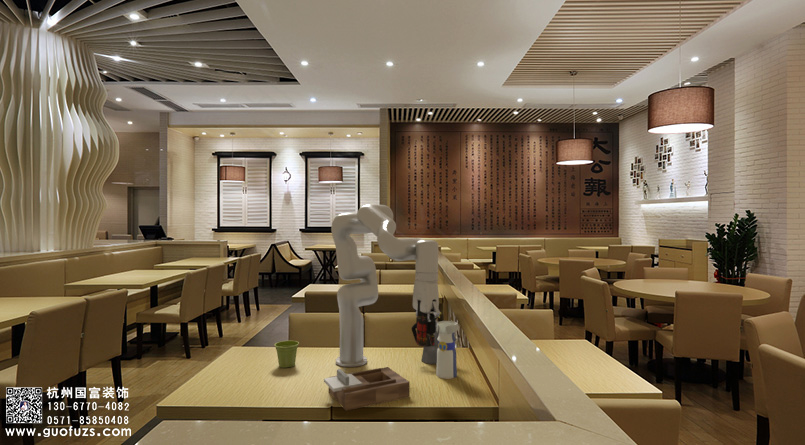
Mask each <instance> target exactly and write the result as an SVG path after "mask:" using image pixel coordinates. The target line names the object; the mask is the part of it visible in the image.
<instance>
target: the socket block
mask: <svg viewBox="0 0 805 445" xmlns="http://www.w3.org/2000/svg"><path fill="white" fill-rule="evenodd" d="M348 374H352V375H353V376H355V377H356V378H357V379H358V380H359V381H360V382H362V385H358V386H352V387H347V388H342V390H341V391H336V392H333V391H332V390H331V389H330V388H329V387H328V393H329V394H330V396H331V397H332V398H333V399H334V400H335V401H336V402H337V403H338V404H339V405H340V404H341V405H342V406H343V407H342V406H341V405H340V406H341V407H342V409H344V411H345V412H346V411H351V410H352V411H353V410H356V409H360V408H365V406H366V407H370V406H375V405H380V404H384V403H389V402H393V401H397V400H401V399H407V398H410V380H407V379H406V378H405V377H403V376H402V375H400V374H399V373H397V372H396V371H395V370H393V369H392V368H390V367H389V366H386V367H380V368H374V369H367V370H360V371H357V372H350V373H348ZM336 376H337V375H334V376H329V377H328V378H330V377H336ZM369 405H370V406H369Z"/></svg>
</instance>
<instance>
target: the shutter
mask: <svg viewBox="0 0 805 445" xmlns="http://www.w3.org/2000/svg"><path fill="white" fill-rule="evenodd" d="M335 376H336V377H332V376H329V377H330V378H329V377H325V378H324V377H323V383H324V384H326V386H327V387H328V389H329V388H330V389H331V390H332V391H333V392H336V391H341V390H342V388H347V387H352V386H358V385H362V382H360V381H359V380H358V379H357V378H356V377H355V376H353V375H352V374H349V373H345V372H344V371H343V370H342V369H341V368H338V369H336V375H335Z"/></svg>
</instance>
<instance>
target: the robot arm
mask: <svg viewBox="0 0 805 445" xmlns="http://www.w3.org/2000/svg"><path fill="white" fill-rule="evenodd" d="M330 227H331V236H332V239H333V242H334V247H335V252H336V254H335V255H336V263H337V272H338V275H339V278H340V279H341V280H343V281H353V280H355V281H356V280H360V282H353V283H346V284H344V285H342V286H340V287H339V288H338V290H337V292H336V299H337V305H338V310H339V312H338V313H339V314H338V315H339V356H338V357H337V358H336V359H335V364H336V365H338V366H340V367H344V368H345V367H347V368H355V367H361V366H364V365H366V364H367V362H368V358H367V357H366V356H365V355H364V315H363V313H362V312H361V310H360V308H359V307H364V306H370V305H374V304H375V303H376V302H377V300H378V298H379V284H378V276H377V275H378V274H377V268H376V264H375V262H374V259H372V257H370V256H368V255H359V254H358V246H357V244H356V241H355V240H354V238H353V237H352V236H351V235H363V234H364V235H367V234H373V235H374V236H376V242H377V245H378V247H379V249H380V251H381V252H383V254H385V255H386V256H387V257H388V258H390V259H391V260H393V261H397V262H404V261H415V268H414V269H415V274H414V275H415V277H414V279H415V280H414V282H413V283H414V284H413V291H412V308H413V309H414V311H415V316H416V319H415V320H416V329H417V310H418V303H417V302H418V300H420V301H421V302H420V303H421V304H420V311H421V312H423V313H427V319H428V321H427V329H426V333H427V334H431V333H435V332H436V321H437V322H438V318H439V317H438V316H439V314H440V313H441V311H440V309H439V308H440V307H439V305H440V298H439V294H440V293H439V284H438V280H439V243H438V241H437V240H432V239H423V238H419V237H418V238H417V237H412V238H408V237H406V238H397V237H396V236H394V234H395V232H396V230H397V224H396V221H394V213H393V210H392V208H391V207H390V206H388V205H385V204H365V205H362V206H361V207H359V209H358V210H357V212H344V213H340V214H337V215H336V216H335V217H334V218H333V220H332V222H331V226H330ZM430 310H433V311H432V312H430ZM430 314H433V315H432V316H431V317H430ZM440 315H441V314H440Z"/></svg>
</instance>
